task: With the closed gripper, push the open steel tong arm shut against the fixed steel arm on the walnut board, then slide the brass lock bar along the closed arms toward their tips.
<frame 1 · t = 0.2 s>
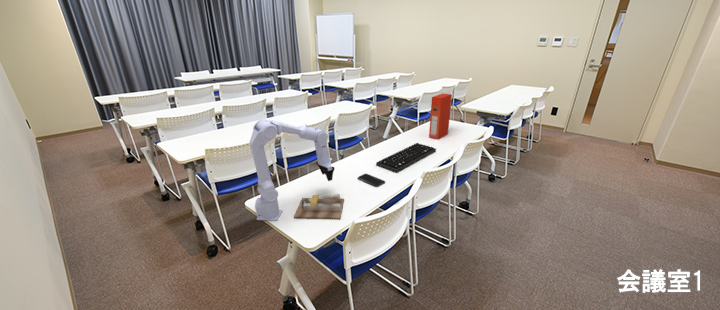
hand: (327, 177, 144), 10 cm above the table, tool pointing down, fingers open, 7 cm apart
walnut board: (320, 208, 136), on the table
file binder: (438, 136, 230), on the table
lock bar: (314, 200, 133), point 6 cm above the table, slide at 0.0 cm
computer keyboard: (407, 159, 190), on the table
tong arm: (324, 199, 139), point 3 cm above the table, hinge at 20.0°
phone: (371, 181, 162), on the table
fixed tong arm: (305, 209, 136), resting on walnut board
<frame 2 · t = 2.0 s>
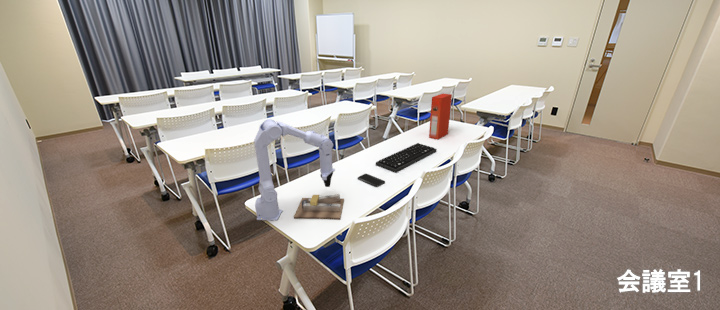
hand: (327, 186, 142), 7 cm above the table, tool pointing down, fingers closed
nothing on the table moved.
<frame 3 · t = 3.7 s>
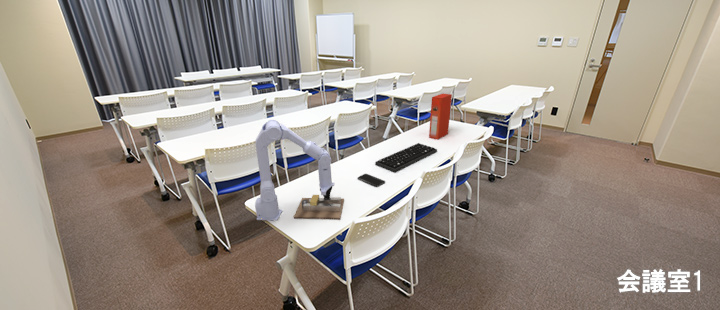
hand: (327, 200, 139), 2 cm above the table, tool pointing down, fingers closed, pressing on tong arm
tong arm: (325, 201, 137), point 3 cm above the table, hinge at 8.9°, touching gripper
everything else where it was.
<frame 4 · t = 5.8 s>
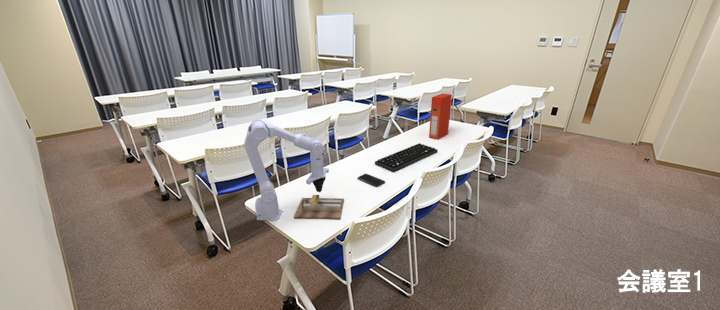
hand: (319, 191, 137), 7 cm above the table, tool pointing down, fingers closed
tong arm: (325, 203, 136), point 3 cm above the table, hinge at 0.0°
everything else where it was.
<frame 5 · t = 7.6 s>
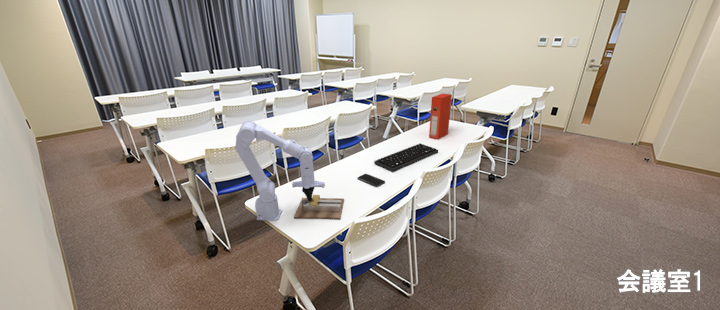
hand: (310, 200, 134), 5 cm above the table, tool pointing down, fingers closed
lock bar: (315, 200, 133), point 6 cm above the table, slide at 0.2 cm, touching gripper
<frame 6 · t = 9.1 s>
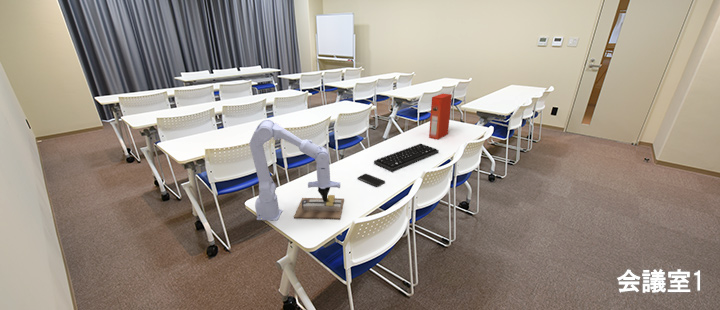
hand: (325, 200, 133), 5 cm above the table, tool pointing down, fingers closed
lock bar: (330, 200, 133), point 6 cm above the table, slide at 7.4 cm, touching gripper
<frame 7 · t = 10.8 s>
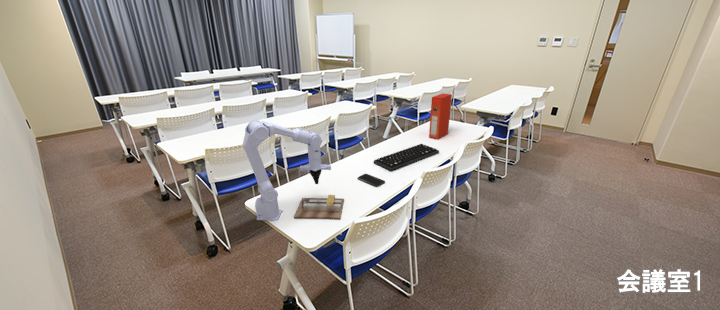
hand: (316, 183, 140), 9 cm above the table, tool pointing down, fingers closed
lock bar: (330, 200, 133), point 6 cm above the table, slide at 7.5 cm
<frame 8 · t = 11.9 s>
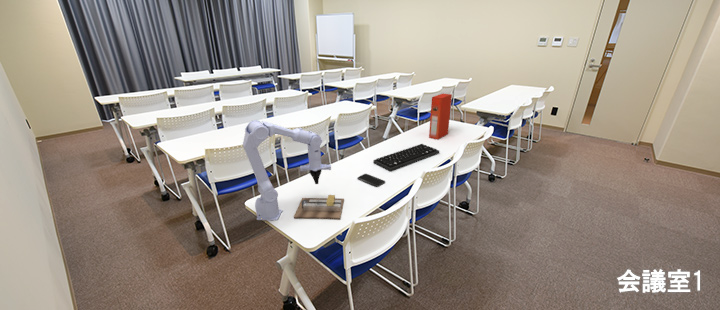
hand: (316, 183, 140), 9 cm above the table, tool pointing down, fingers closed
at the end: tong arm at +0° (first picture: +20°); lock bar slide at 7.5 cm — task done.
